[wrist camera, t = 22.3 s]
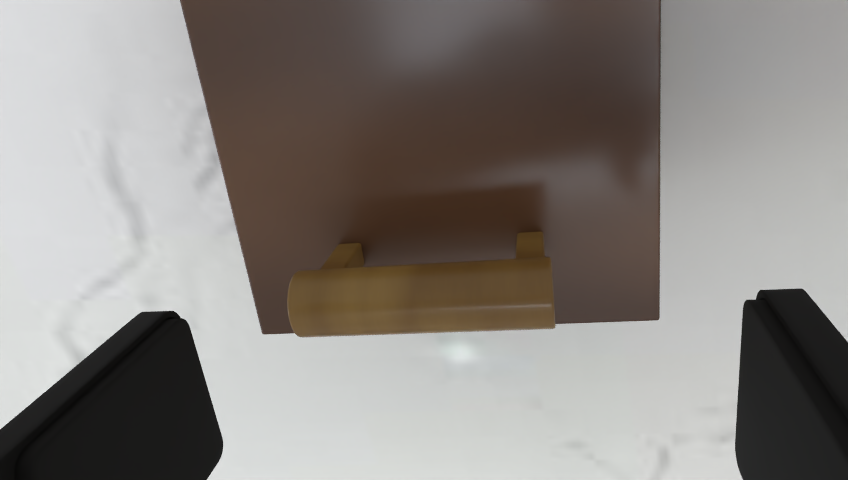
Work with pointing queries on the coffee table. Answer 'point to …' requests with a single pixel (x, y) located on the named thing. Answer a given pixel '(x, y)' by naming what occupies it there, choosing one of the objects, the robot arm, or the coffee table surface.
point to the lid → (438, 159)
